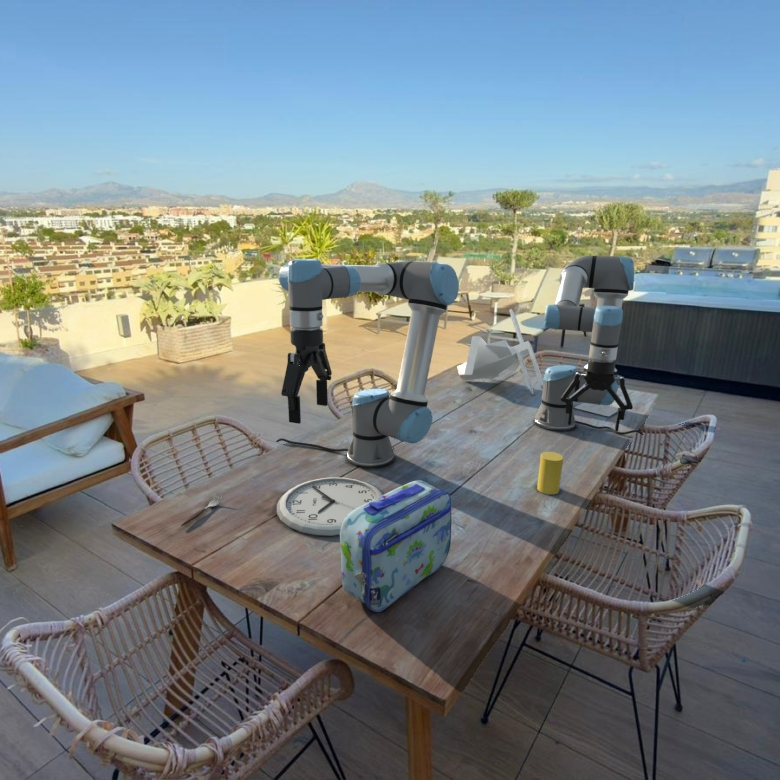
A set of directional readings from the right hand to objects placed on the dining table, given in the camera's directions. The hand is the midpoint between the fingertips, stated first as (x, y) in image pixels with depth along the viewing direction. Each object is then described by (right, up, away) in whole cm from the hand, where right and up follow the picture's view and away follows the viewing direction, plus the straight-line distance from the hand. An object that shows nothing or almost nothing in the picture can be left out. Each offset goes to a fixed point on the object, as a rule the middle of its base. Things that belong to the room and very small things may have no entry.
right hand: (592, 426), depth 160 cm
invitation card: (+29, +4, +66) cm, 72 cm away
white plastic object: (-11, +12, +91) cm, 92 cm away
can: (-16, -18, -7) cm, 25 cm away
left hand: (-82, +5, -32) cm, 88 cm away
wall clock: (-78, -20, -18) cm, 82 cm away
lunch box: (-61, -30, -48) cm, 83 cm away
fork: (-112, -21, -22) cm, 116 cm away
